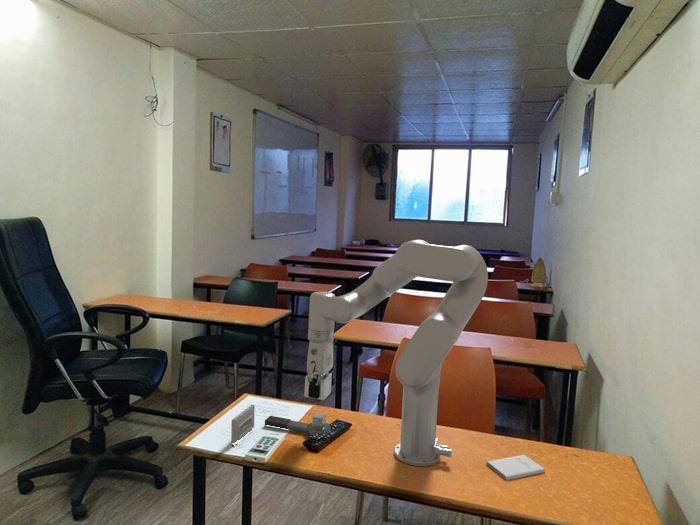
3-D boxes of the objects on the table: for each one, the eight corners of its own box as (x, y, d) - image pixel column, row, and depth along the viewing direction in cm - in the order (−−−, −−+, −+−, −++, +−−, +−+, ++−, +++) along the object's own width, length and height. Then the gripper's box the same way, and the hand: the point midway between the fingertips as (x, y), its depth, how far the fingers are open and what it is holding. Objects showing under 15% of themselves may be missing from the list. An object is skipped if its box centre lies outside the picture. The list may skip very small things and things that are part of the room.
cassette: (250, 428, 149) (250, 403, 149) (255, 429, 149) (256, 404, 148) (229, 446, 138) (229, 419, 137) (235, 447, 137) (235, 420, 137)
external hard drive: (486, 466, 133) (523, 459, 137) (506, 482, 125) (544, 474, 130) (486, 460, 133) (523, 453, 137) (506, 476, 125) (545, 468, 130)
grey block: (330, 393, 148) (331, 373, 148) (323, 400, 143) (324, 380, 142) (312, 389, 150) (313, 370, 149) (304, 396, 144) (305, 376, 144)
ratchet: (262, 428, 149) (262, 410, 149) (272, 419, 156) (273, 402, 155) (325, 441, 143) (325, 422, 142) (333, 430, 149) (334, 412, 149)
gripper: (322, 343, 135) (318, 406, 137) (342, 329, 151) (339, 386, 153) (297, 339, 137) (294, 401, 139) (320, 326, 153) (317, 382, 156)
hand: (317, 393), depth 146 cm, fingers closed on grey block, 6 cm apart
